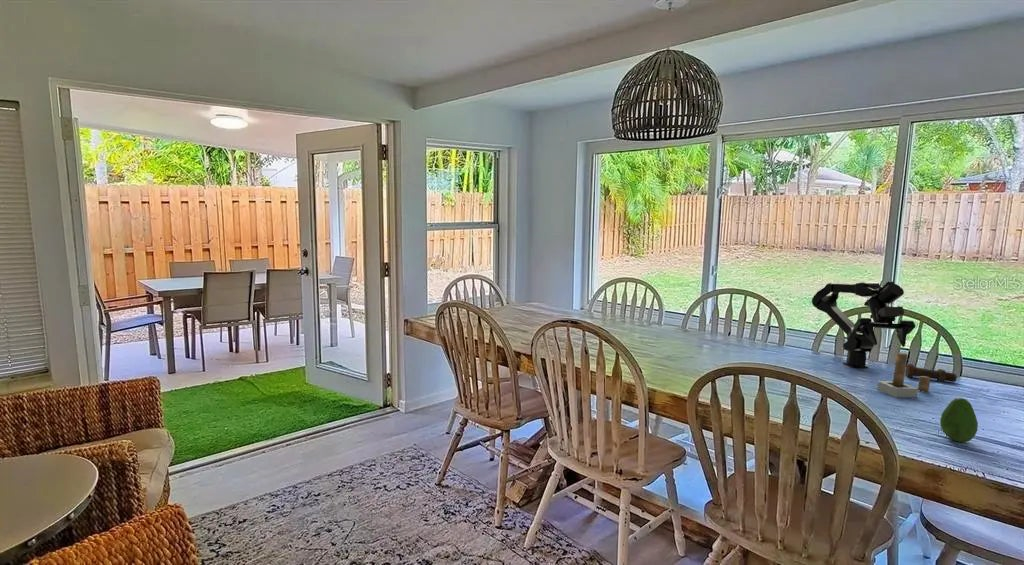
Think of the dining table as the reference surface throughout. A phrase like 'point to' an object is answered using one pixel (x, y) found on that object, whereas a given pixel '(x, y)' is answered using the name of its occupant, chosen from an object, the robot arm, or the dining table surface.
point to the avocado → (959, 420)
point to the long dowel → (899, 370)
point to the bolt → (930, 373)
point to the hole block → (897, 389)
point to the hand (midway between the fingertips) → (889, 345)
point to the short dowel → (924, 383)
